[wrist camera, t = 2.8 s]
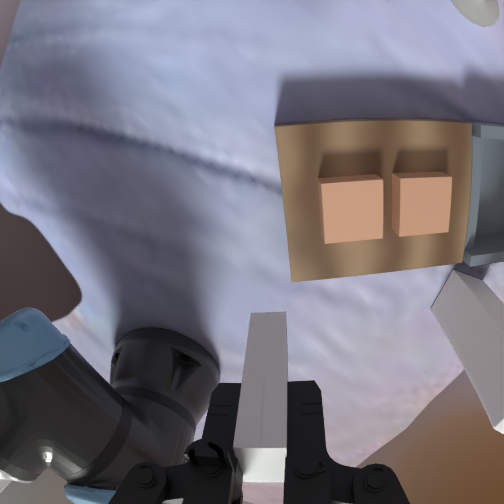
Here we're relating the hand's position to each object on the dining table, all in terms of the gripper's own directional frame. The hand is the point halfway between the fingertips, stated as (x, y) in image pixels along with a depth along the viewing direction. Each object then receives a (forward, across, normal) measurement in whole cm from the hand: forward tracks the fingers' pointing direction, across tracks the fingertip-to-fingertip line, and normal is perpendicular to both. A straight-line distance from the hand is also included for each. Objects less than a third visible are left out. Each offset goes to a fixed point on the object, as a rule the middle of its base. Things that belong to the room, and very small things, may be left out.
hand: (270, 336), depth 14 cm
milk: (+19, +22, -12) cm, 32 cm away
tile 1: (+15, +13, +1) cm, 20 cm away
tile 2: (+15, +6, +1) cm, 16 cm away
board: (+19, +10, +1) cm, 21 cm away
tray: (+19, +26, +2) cm, 32 cm away
